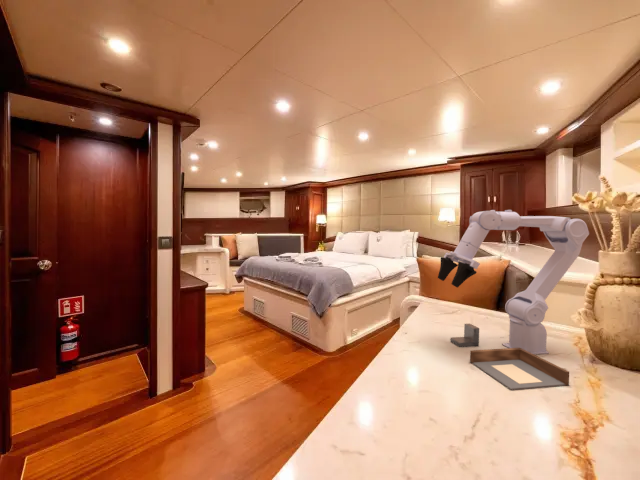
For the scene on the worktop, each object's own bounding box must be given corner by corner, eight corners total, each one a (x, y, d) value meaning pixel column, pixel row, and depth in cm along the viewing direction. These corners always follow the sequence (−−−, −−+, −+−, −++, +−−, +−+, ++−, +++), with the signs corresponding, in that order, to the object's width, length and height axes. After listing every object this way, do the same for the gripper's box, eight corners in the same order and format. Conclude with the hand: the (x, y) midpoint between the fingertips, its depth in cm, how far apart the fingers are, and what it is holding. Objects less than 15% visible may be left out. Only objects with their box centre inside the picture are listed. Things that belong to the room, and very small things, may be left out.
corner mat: (519, 358, 81) (519, 357, 81) (568, 385, 67) (568, 383, 67) (470, 362, 79) (470, 360, 79) (510, 390, 65) (510, 388, 65)
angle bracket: (469, 340, 95) (469, 323, 94) (478, 346, 90) (479, 328, 90) (450, 341, 94) (451, 324, 93) (459, 347, 89) (459, 329, 89)
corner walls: (519, 358, 81) (519, 347, 81) (568, 385, 67) (569, 371, 67) (470, 362, 79) (470, 350, 79) (510, 390, 65) (511, 376, 65)
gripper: (445, 236, 94) (425, 271, 95) (474, 242, 80) (450, 283, 80) (461, 246, 95) (441, 280, 96) (493, 253, 81) (469, 293, 81)
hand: (447, 282), depth 88 cm, fingers open, 7 cm apart
